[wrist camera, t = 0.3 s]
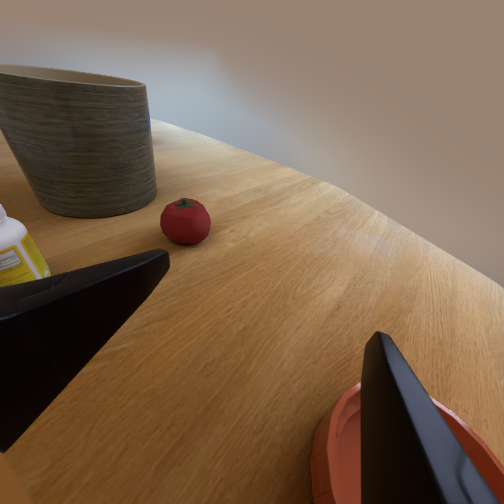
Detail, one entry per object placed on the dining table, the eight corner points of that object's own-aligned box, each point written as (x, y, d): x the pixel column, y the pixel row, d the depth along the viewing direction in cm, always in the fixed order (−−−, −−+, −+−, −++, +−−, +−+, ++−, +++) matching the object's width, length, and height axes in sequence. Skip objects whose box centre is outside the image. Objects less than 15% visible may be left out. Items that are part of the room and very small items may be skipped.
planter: (178, 188, 55) (171, 87, 43) (105, 232, 38) (58, 84, 26) (102, 168, 59) (75, 69, 46) (4, 200, 42) (-79, 56, 29)
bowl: (545, 759, 11) (662, 833, 8) (288, 568, 14) (309, 574, 11) (464, 444, 21) (504, 429, 18) (323, 375, 24) (339, 353, 21)
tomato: (155, 244, 37) (148, 204, 33) (177, 221, 43) (174, 185, 39) (201, 255, 37) (201, 216, 32) (217, 230, 43) (218, 194, 38)
